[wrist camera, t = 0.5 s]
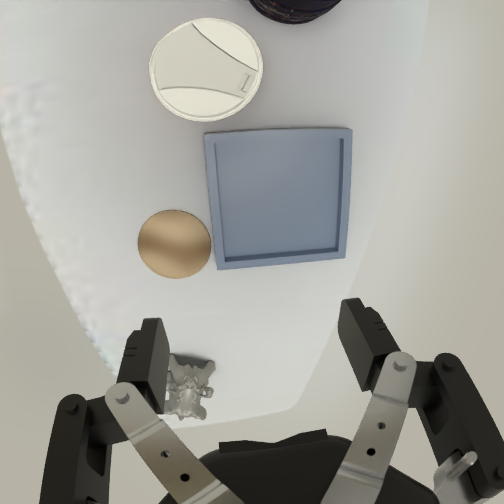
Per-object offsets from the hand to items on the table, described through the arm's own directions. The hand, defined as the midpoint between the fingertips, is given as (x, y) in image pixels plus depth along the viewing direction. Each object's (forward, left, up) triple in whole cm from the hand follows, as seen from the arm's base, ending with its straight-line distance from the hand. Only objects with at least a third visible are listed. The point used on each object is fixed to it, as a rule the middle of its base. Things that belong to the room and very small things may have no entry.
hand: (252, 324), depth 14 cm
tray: (+2, +5, -25) cm, 25 cm away
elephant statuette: (+31, -10, -25) cm, 41 cm away
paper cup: (-12, -2, -25) cm, 27 cm away
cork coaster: (+7, -8, -25) cm, 27 cm away
